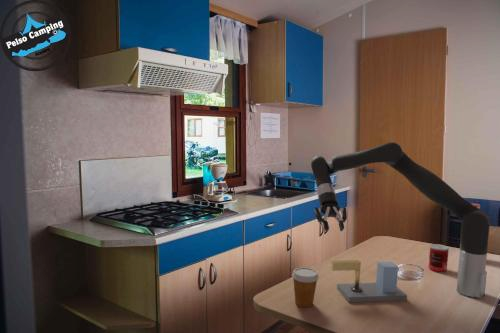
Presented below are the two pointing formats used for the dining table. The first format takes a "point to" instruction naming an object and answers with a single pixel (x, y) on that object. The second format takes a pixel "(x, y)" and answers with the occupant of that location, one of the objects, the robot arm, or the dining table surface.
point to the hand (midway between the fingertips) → (334, 230)
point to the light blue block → (386, 276)
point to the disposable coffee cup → (304, 286)
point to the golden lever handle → (348, 268)
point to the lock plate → (369, 293)
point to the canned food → (438, 258)
